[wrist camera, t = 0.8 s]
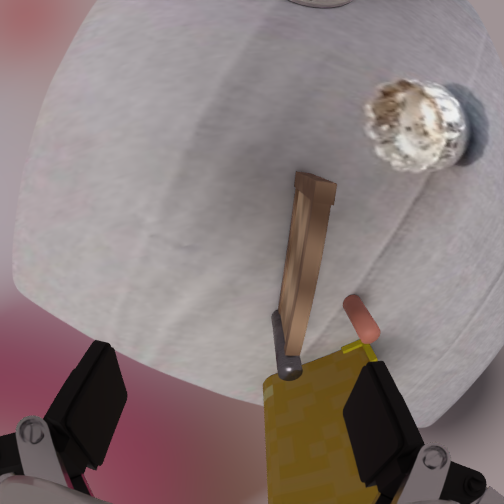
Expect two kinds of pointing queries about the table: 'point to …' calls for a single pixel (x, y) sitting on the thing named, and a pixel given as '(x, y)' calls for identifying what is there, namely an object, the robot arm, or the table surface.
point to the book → (314, 432)
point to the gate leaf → (304, 255)
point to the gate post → (286, 364)
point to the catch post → (361, 319)
